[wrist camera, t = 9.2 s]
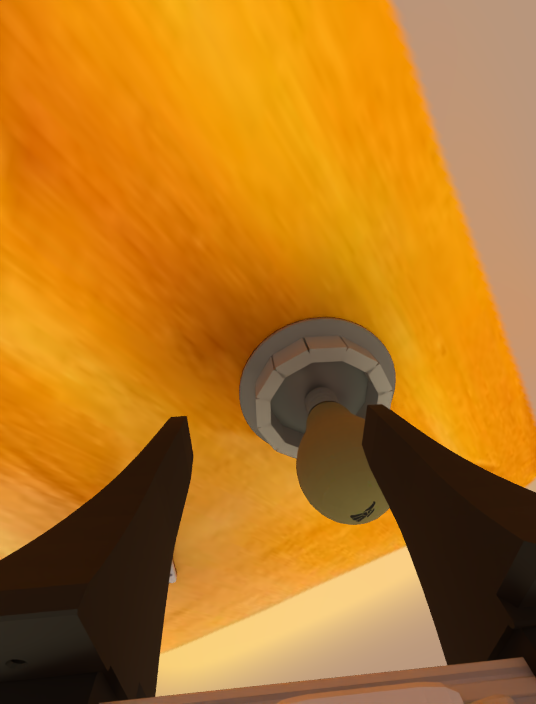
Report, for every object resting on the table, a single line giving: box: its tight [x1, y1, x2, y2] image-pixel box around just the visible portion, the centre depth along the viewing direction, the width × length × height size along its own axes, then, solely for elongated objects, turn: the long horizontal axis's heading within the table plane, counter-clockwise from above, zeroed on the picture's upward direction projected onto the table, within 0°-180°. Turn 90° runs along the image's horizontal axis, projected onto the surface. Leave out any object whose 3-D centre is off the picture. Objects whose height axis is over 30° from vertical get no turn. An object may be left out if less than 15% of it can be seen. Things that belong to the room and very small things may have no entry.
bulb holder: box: [240, 317, 396, 459], centre depth 23 cm, size 12×12×2 cm
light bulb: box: [296, 387, 390, 525], centre depth 19 cm, size 6×6×10 cm
